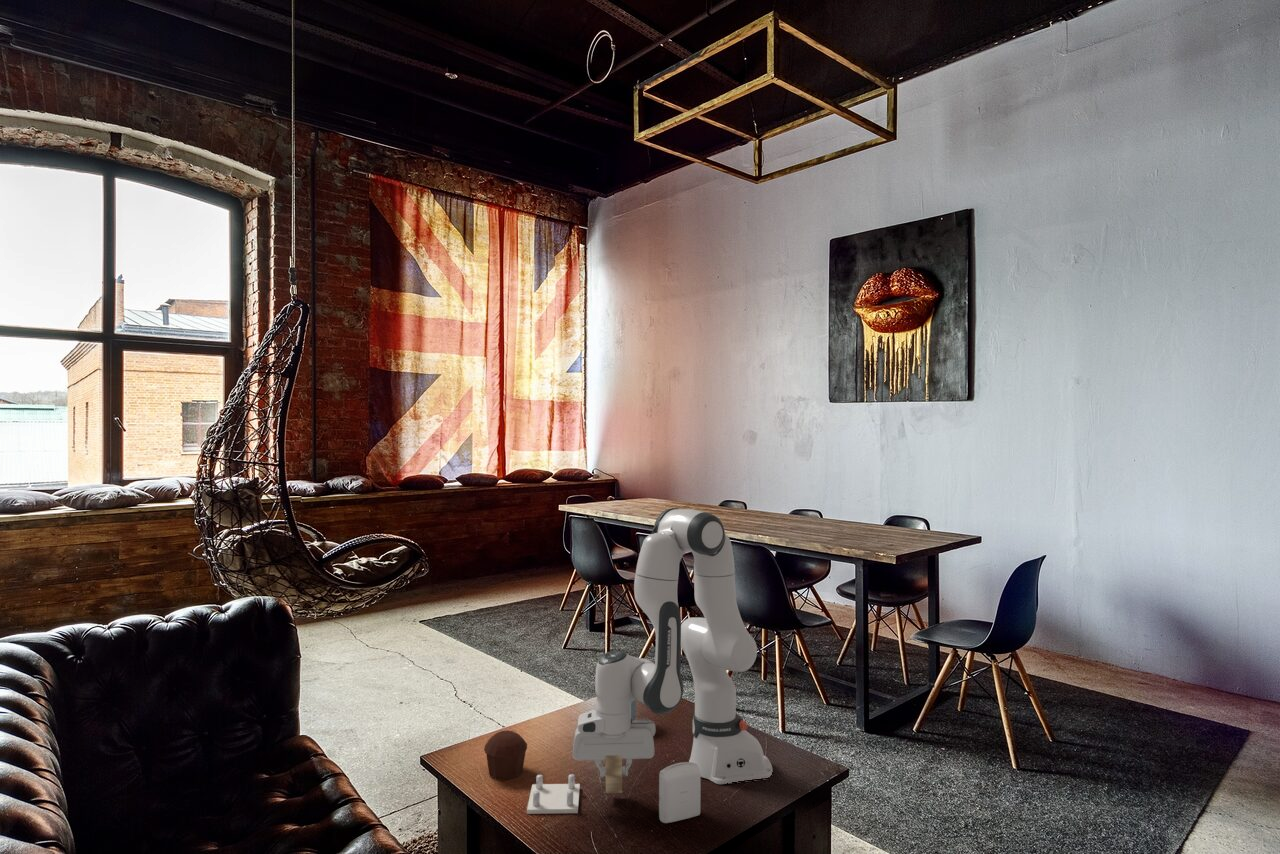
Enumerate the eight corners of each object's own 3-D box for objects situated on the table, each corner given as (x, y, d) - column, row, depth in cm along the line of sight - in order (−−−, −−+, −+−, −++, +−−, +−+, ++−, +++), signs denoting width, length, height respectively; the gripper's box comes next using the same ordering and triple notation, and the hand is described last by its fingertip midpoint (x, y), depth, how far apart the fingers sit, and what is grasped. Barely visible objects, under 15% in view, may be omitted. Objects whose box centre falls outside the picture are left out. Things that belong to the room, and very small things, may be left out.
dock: (579, 787, 179) (579, 771, 179) (577, 813, 167) (577, 796, 167) (532, 788, 178) (532, 772, 178) (526, 813, 166) (527, 796, 166)
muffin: (533, 775, 185) (534, 737, 185) (493, 786, 179) (493, 747, 179) (516, 757, 195) (517, 721, 195) (477, 767, 189) (478, 730, 189)
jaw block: (621, 784, 176) (621, 748, 176) (622, 792, 172) (621, 755, 172) (605, 784, 176) (605, 748, 176) (605, 793, 172) (605, 756, 172)
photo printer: (663, 826, 162) (664, 772, 162) (655, 816, 166) (656, 763, 166) (703, 816, 166) (703, 764, 166) (694, 807, 170) (695, 756, 170)
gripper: (654, 713, 177) (655, 768, 177) (573, 715, 176) (573, 770, 176) (656, 723, 171) (656, 780, 171) (571, 726, 170) (572, 783, 170)
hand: (613, 775), depth 174 cm, fingers closed on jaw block, 4 cm apart
